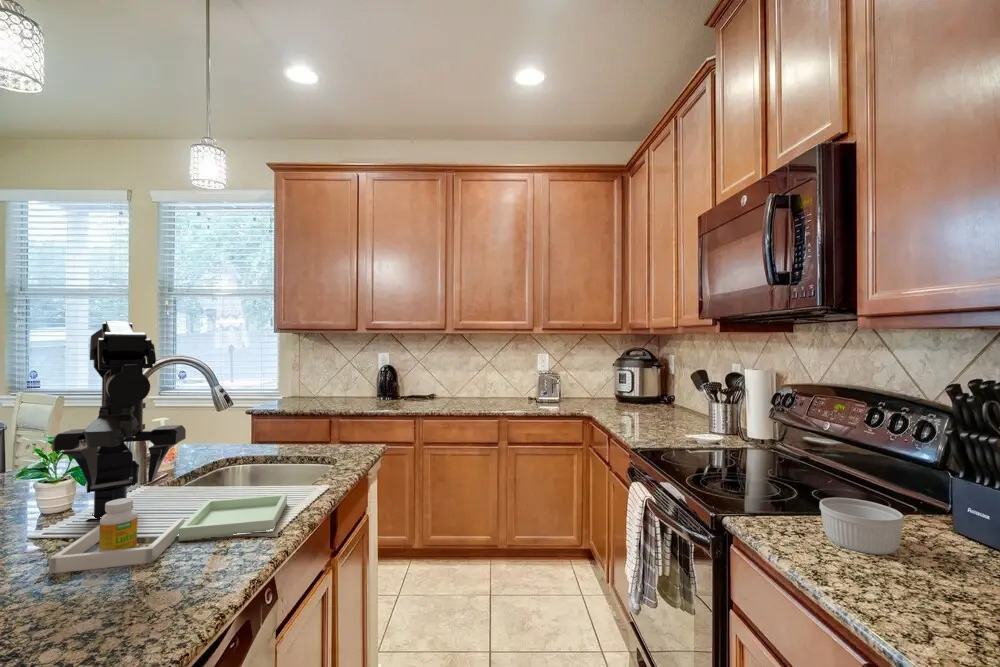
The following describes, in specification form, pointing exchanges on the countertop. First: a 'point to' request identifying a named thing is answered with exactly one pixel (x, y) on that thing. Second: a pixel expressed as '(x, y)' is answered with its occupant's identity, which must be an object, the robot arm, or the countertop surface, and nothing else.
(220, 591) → the countertop surface
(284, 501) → the tray
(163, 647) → the countertop surface
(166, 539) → the bay
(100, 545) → the supplement bottle
